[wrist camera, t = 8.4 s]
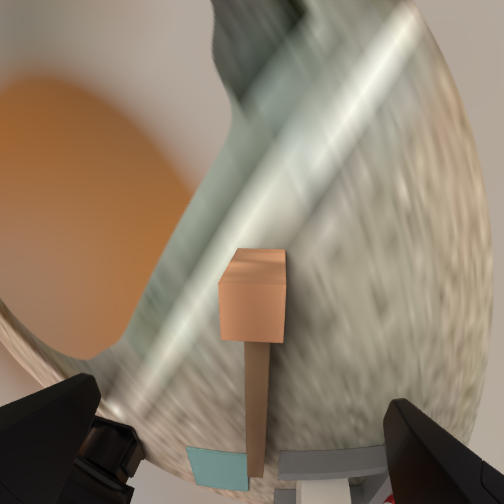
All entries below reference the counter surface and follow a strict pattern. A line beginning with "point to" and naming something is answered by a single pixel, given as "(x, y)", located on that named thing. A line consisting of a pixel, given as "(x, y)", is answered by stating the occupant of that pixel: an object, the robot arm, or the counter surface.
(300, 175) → the counter surface
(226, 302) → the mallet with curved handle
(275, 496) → the socket cradle
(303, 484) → the cream white block
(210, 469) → the pad
